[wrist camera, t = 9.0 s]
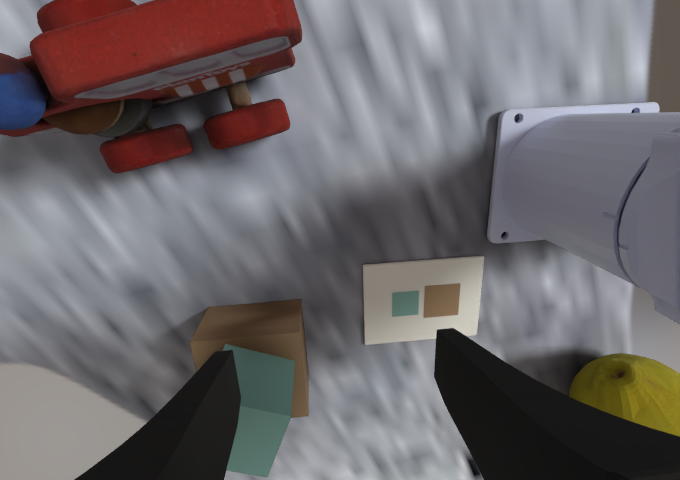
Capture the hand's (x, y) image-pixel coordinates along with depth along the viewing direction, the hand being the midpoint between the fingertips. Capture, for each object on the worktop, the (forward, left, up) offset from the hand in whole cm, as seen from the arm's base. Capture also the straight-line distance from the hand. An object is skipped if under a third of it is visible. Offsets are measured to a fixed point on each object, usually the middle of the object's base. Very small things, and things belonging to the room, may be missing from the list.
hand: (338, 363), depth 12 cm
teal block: (+5, +6, -7) cm, 10 cm away
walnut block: (+5, +6, -11) cm, 13 cm away
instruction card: (-6, +4, -10) cm, 13 cm away
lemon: (-20, +12, -11) cm, 26 cm away
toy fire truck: (+7, -10, -11) cm, 16 cm away
